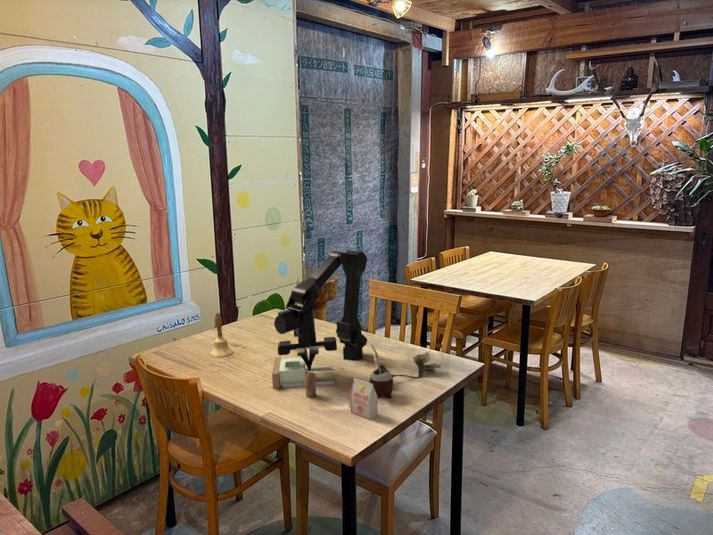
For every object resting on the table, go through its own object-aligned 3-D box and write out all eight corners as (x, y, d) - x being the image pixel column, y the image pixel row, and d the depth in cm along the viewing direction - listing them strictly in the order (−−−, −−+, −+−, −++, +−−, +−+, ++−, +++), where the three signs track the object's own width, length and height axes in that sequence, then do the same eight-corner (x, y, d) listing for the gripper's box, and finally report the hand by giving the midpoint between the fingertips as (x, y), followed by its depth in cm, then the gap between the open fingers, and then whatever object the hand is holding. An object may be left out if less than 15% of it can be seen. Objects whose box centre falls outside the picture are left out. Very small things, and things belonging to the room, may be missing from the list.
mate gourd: (389, 403, 152) (388, 355, 149) (364, 400, 155) (363, 353, 152) (396, 392, 159) (396, 346, 156) (372, 389, 162) (371, 344, 159)
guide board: (335, 371, 176) (334, 354, 175) (336, 387, 163) (336, 370, 162) (276, 374, 175) (275, 357, 173) (273, 391, 162) (272, 373, 161)
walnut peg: (316, 396, 158) (315, 372, 156) (316, 400, 155) (315, 376, 153) (306, 397, 158) (305, 372, 156) (306, 401, 155) (305, 376, 153)
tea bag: (359, 407, 150) (358, 375, 148) (377, 414, 146) (376, 381, 144) (350, 412, 148) (349, 380, 145) (369, 419, 143) (368, 386, 141)
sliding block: (305, 371, 174) (305, 357, 173) (305, 384, 164) (304, 369, 163) (281, 372, 173) (281, 358, 172) (279, 385, 163) (279, 371, 162)
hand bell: (225, 358, 190) (221, 317, 186) (205, 356, 192) (201, 315, 189) (237, 350, 197) (233, 310, 194) (218, 348, 200) (214, 308, 197)
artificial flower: (372, 383, 169) (371, 353, 170) (432, 379, 177) (432, 350, 178) (383, 387, 161) (383, 355, 162) (446, 382, 169) (445, 351, 170)
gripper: (333, 315, 173) (336, 358, 177) (277, 319, 172) (282, 363, 175) (335, 325, 163) (338, 371, 166) (275, 330, 161) (280, 377, 165)
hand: (309, 370), depth 168 cm, fingers closed
